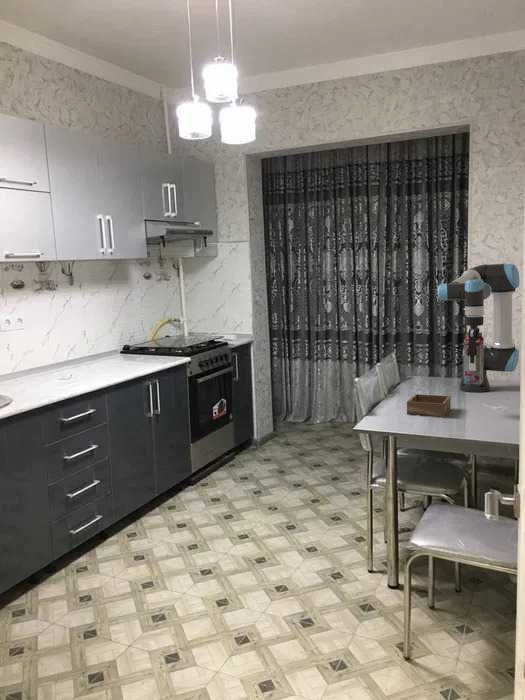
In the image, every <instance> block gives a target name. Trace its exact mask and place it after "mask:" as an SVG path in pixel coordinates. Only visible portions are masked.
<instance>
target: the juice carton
mask: <svg viewBox="0 0 525 700" xmlns="http://www.w3.org/2000/svg"><path fill="white" fill-rule="evenodd" d="M468 333H469V331H466V332H465V337H464V340H463V350H464V384H478V385H480V384H481V383H482V382H483V354H484V345H485V342H484V337H483V332H479V333H478V339H477V340H476V341H475V342H476V353H475V354H476V371H469V356H467V354H468V349H469V334H468Z"/></svg>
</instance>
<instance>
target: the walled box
mask: <svg viewBox="0 0 525 700" xmlns="http://www.w3.org/2000/svg"><path fill="white" fill-rule="evenodd" d="M451 402H452V401H451V396H450V395H449V396H447V395H438V394H437V395H434V394H422V393H421V394H420V393H414V395H412V396H411V398H409V399H408V400H407V401H406V415H407V414H411V415H410V416H416V415H420V416H419V417H428V416H434V417H433V418H440V417H444V416H445V417H446V415H447V414H448V413H449V412H450V411H451V408H452V407H451ZM435 416H436V417H435ZM445 417H444V418H445Z"/></svg>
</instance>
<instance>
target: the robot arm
mask: <svg viewBox="0 0 525 700" xmlns="http://www.w3.org/2000/svg"><path fill="white" fill-rule="evenodd" d="M519 287H520V273H519V269H518V267H517V266H516V264H514V263H494V264H481V265H477V266H473V267H471V268H469V269H467V270H465V271H464V272H463V273H462V274H461V276H459V277H458V278H456V279H454V280H453V281H452V282H450V283H440V284H439V285H438V287H437V298H438V299H439V300H440V301H446V302H447V301H464V308H463V311H464V325H465V326H469V329H468V332H469V333H468V334H469V349H468V354H467V356H469V371H476V354H475V353H476V342H475V341H476V340H477V339H478V333H481V332H480V328H479V327H481V326H483V325H484V319H485V317H484V315H485V314H484V313H485V306H484V305H485V304H484V301H485V300H487V299H488V298H489V297H490V296H492V295H493V299H492V300H493V303H492V305H493V307H492V308H493V342H492V343H491V344H490V347H488V345H487V344H484V354H483V382H482V383H481V384H480V385H478V384H464V349H463V350H462V376H461V379H460V382H459V385H458V386H459V387H458V388H459V391H462V392H467V393H485V392H484V391H486V392H488V390H489V391H491V384H490V382H489V379H488V375H487V371H490V372H503V373H508V372H509V373H511V372H512V373H514V371H515V370H516V369H517V365H518V364H519V363H518V362H519V357H520V350H519V349H518V348H516V344H515V343H514V342H513V294H514V293H515V292H516V289H517V288H519Z"/></svg>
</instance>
